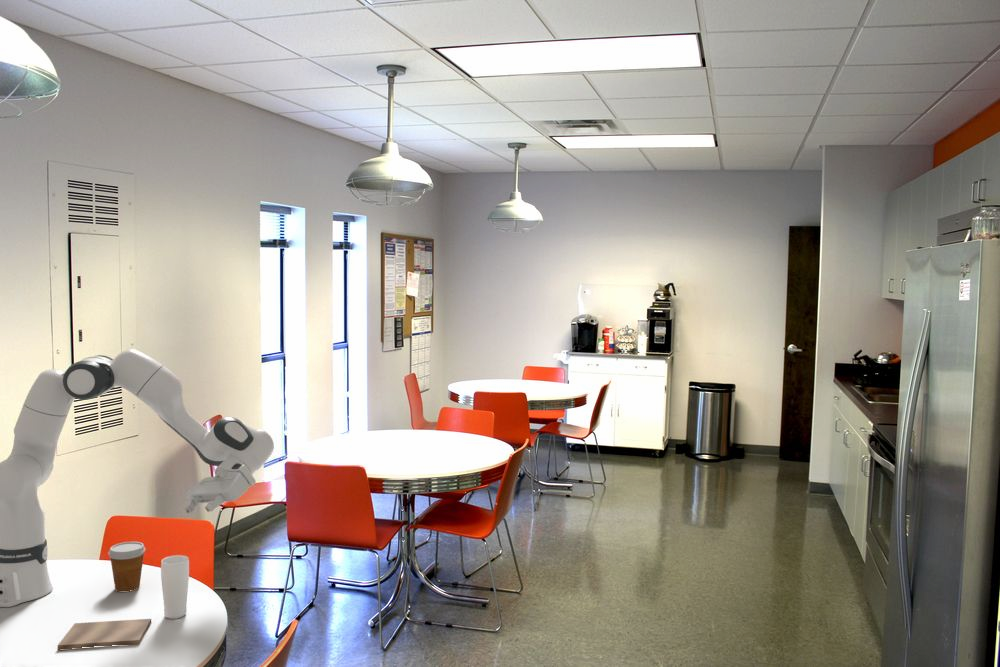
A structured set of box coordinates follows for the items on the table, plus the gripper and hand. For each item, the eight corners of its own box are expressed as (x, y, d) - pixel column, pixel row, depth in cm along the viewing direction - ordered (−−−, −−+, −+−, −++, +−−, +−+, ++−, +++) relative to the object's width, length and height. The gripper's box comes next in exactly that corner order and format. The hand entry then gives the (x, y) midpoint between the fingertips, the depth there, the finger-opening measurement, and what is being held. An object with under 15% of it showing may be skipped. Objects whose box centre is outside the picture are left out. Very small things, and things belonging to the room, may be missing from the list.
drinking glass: (179, 622, 199) (178, 565, 198) (155, 619, 201) (155, 562, 200) (194, 611, 206) (194, 556, 205) (171, 608, 207) (171, 553, 206)
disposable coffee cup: (104, 595, 215) (104, 553, 214) (113, 582, 224) (113, 542, 223) (142, 593, 217) (141, 551, 216) (149, 580, 226) (148, 540, 225)
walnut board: (57, 650, 183) (57, 645, 183) (74, 627, 195) (74, 623, 195) (139, 644, 187) (139, 639, 187) (151, 623, 198) (151, 618, 198)
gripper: (203, 469, 223) (168, 503, 213) (247, 464, 211) (213, 500, 201) (215, 485, 225) (181, 520, 215) (260, 482, 214) (226, 518, 203)
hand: (197, 510), depth 208 cm, fingers open, 8 cm apart
